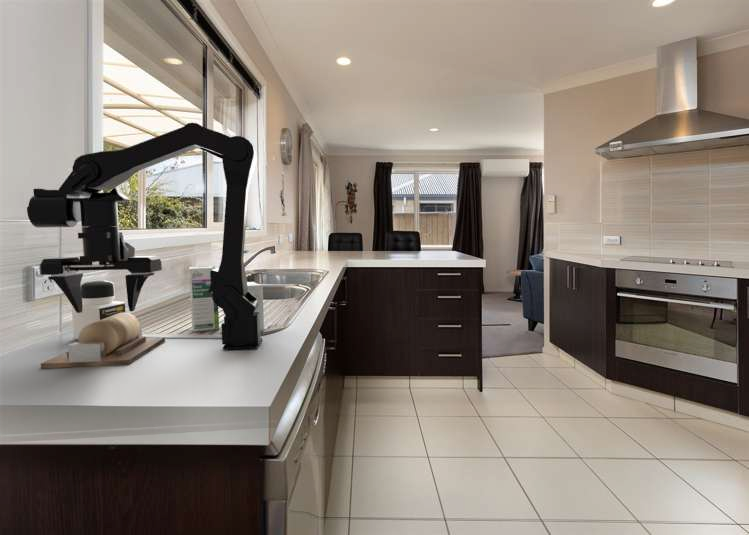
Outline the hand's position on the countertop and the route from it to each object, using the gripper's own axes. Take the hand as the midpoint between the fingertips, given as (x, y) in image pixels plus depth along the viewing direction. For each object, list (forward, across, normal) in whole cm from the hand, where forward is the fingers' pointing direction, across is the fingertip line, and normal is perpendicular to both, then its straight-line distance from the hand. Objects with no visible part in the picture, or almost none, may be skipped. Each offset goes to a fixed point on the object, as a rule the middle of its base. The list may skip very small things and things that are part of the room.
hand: (106, 311), depth 81 cm
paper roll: (+7, 0, 0) cm, 7 cm away
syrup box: (+8, -12, -19) cm, 24 cm away
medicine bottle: (+8, +9, -15) cm, 19 cm away
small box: (+8, -22, -17) cm, 29 cm away
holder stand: (+8, 0, 0) cm, 8 cm away
